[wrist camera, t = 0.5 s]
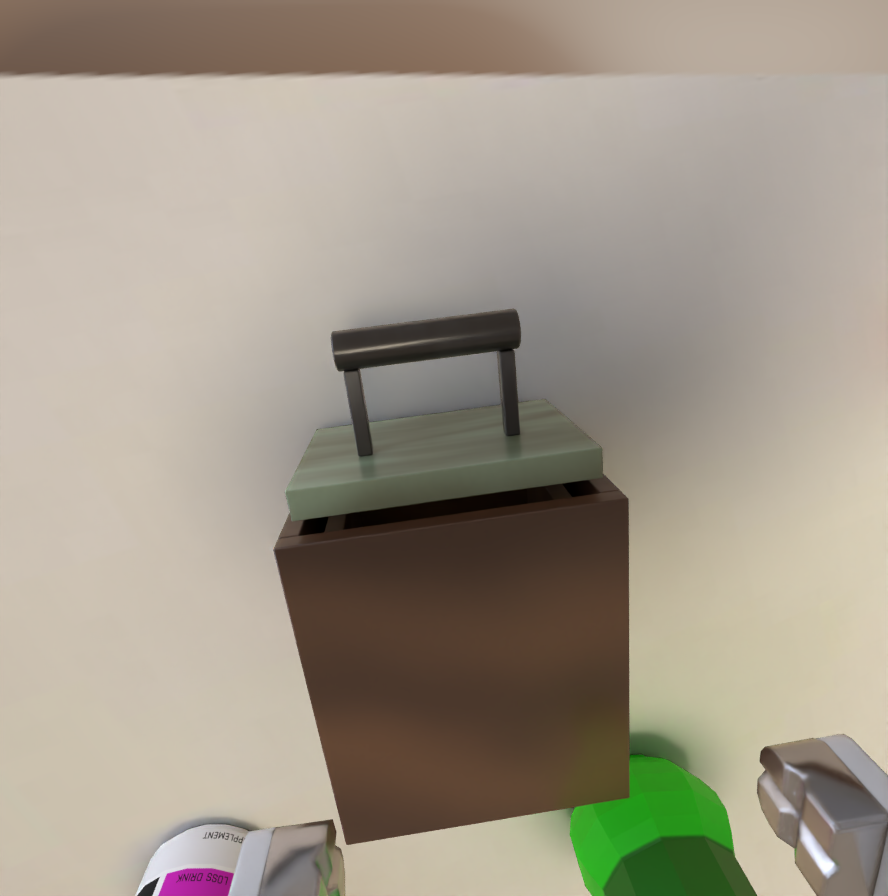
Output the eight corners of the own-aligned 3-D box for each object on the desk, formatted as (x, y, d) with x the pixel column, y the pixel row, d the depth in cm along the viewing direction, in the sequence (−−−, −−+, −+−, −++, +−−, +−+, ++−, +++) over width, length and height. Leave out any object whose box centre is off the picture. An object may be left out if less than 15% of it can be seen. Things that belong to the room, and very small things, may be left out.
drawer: (296, 326, 24) (252, 350, 17) (539, 295, 25) (599, 306, 18) (361, 654, 30) (350, 777, 23) (557, 624, 31) (608, 735, 23)
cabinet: (313, 457, 27) (272, 549, 18) (553, 424, 28) (629, 498, 19) (360, 683, 32) (346, 846, 23) (565, 651, 33) (630, 798, 24)
